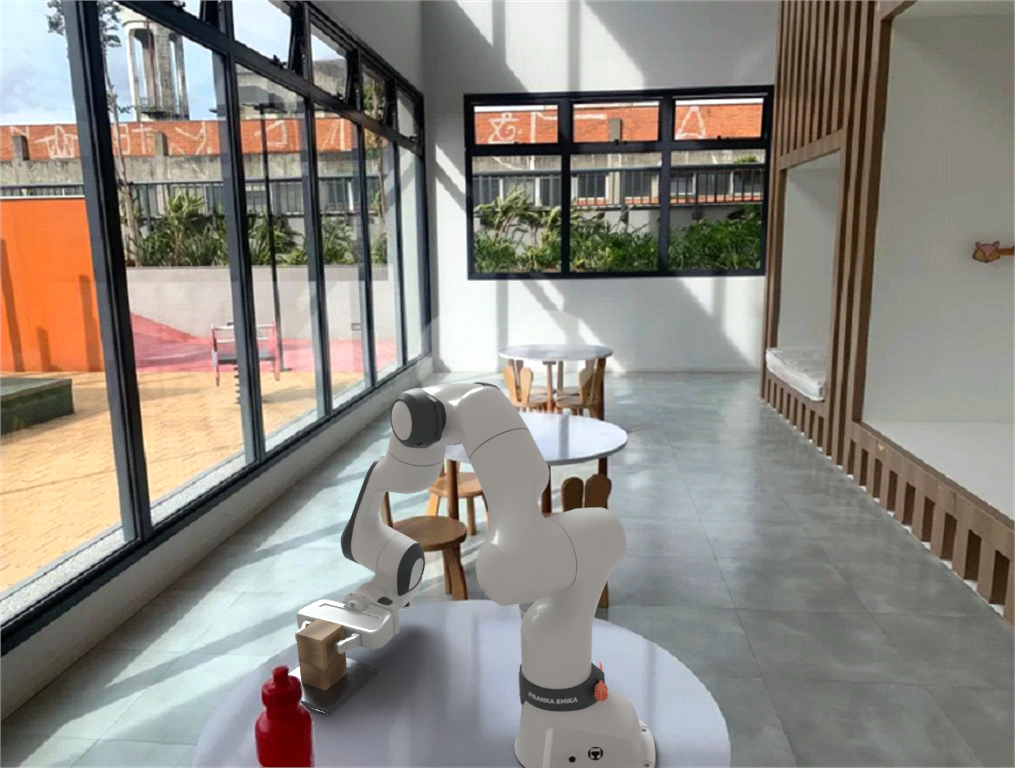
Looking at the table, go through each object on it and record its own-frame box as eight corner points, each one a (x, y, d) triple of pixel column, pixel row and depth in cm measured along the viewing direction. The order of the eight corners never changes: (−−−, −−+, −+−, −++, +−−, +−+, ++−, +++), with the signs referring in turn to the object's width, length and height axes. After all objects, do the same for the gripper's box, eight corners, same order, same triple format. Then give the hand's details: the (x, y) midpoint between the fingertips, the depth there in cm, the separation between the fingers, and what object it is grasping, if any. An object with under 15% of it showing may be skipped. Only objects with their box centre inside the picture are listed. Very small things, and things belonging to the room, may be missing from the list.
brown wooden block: (347, 672, 136) (343, 624, 134) (326, 690, 131) (321, 640, 129) (322, 665, 138) (318, 618, 137) (301, 682, 133) (296, 633, 131)
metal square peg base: (377, 672, 138) (374, 643, 136) (328, 715, 125) (325, 683, 124) (321, 655, 144) (318, 627, 143) (269, 694, 132) (266, 664, 131)
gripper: (323, 585, 148) (274, 616, 136) (404, 604, 139) (358, 640, 127) (325, 613, 150) (277, 646, 138) (406, 634, 140) (361, 672, 128)
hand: (317, 643), depth 132 cm, fingers open, 8 cm apart
